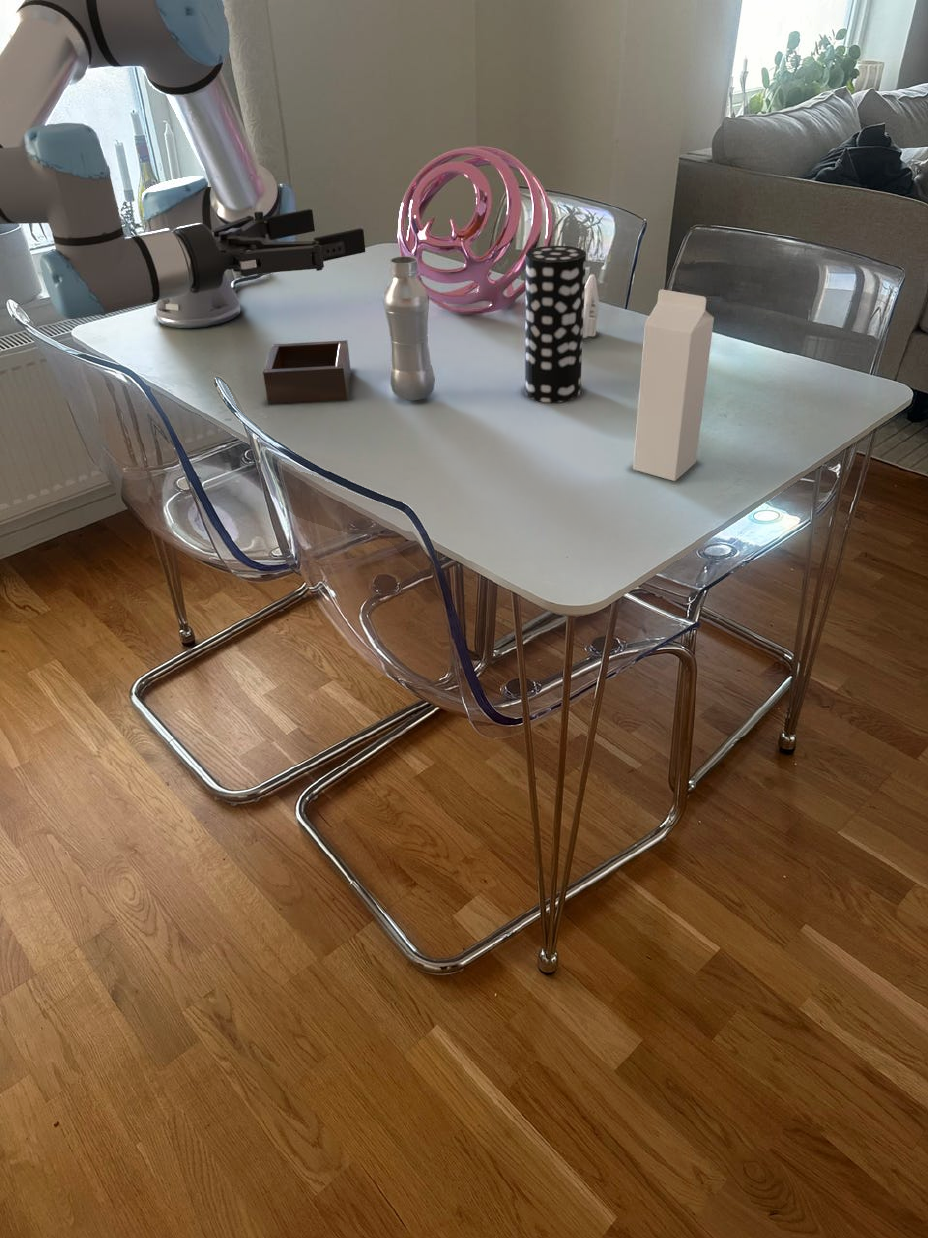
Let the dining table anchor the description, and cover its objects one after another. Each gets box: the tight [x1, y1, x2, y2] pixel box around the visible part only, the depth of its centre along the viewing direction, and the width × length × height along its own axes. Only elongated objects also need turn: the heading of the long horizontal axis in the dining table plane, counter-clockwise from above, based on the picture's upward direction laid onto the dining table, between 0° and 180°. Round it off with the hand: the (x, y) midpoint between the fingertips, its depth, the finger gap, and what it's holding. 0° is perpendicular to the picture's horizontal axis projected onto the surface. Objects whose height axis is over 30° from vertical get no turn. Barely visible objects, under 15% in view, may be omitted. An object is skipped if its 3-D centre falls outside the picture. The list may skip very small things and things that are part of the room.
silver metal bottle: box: [382, 256, 436, 401], centre depth 133 cm, size 6×7×20 cm
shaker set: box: [583, 273, 600, 339], centre depth 152 cm, size 12×4×11 cm, turn 133°
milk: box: [632, 288, 715, 482], centre depth 111 cm, size 6×6×22 cm
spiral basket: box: [397, 145, 554, 316], centre depth 165 cm, size 28×28×27 cm
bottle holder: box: [262, 339, 351, 405], centre depth 142 cm, size 12×12×5 cm
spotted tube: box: [524, 245, 587, 403], centre depth 133 cm, size 8×8×20 cm
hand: (337, 229), depth 119 cm, fingers open, 13 cm apart
